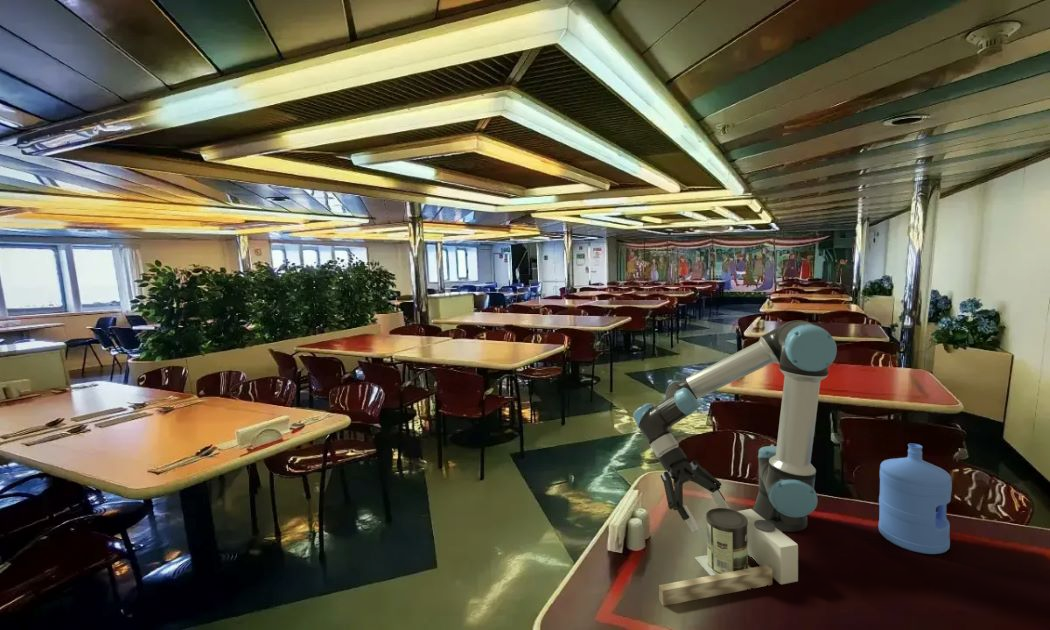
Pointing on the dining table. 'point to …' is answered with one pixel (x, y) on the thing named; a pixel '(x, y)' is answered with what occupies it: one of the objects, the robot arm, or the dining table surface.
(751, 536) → the end cabinet
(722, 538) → the coffee can
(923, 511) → the water jug
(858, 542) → the dining table surface
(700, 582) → the guide rail
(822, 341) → the robot arm
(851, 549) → the dining table surface
